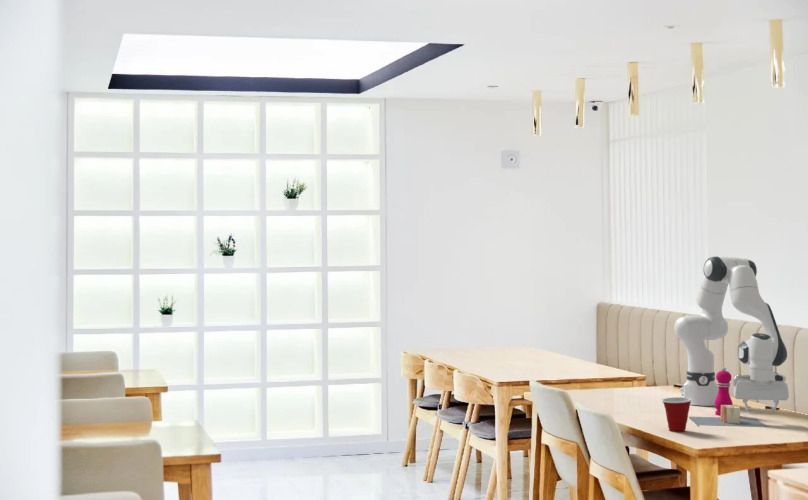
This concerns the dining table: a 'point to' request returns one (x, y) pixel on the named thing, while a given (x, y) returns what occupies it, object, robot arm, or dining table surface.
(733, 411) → the maple cube
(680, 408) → the plastic cup
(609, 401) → the dining table surface
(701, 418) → the slate mat
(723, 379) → the pepper mill
